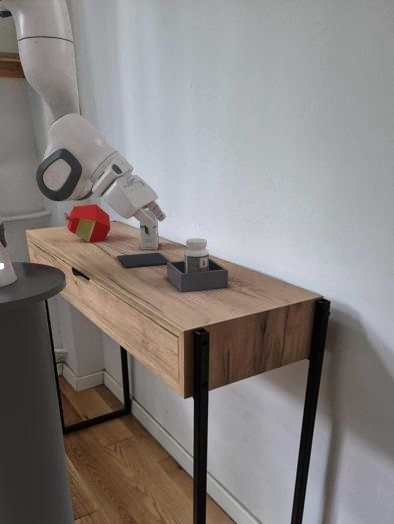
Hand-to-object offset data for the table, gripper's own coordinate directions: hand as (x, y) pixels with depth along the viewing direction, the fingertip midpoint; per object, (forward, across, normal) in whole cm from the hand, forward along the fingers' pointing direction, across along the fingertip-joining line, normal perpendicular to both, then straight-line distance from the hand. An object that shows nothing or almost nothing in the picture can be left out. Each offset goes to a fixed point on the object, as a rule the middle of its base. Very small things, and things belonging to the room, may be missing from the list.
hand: (159, 223), depth 109 cm
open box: (+16, 0, -4) cm, 16 cm away
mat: (+3, -18, -16) cm, 24 cm away
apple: (-14, -41, -33) cm, 54 cm away
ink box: (+1, -34, -18) cm, 39 cm away
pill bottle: (+16, 0, -4) cm, 16 cm away
